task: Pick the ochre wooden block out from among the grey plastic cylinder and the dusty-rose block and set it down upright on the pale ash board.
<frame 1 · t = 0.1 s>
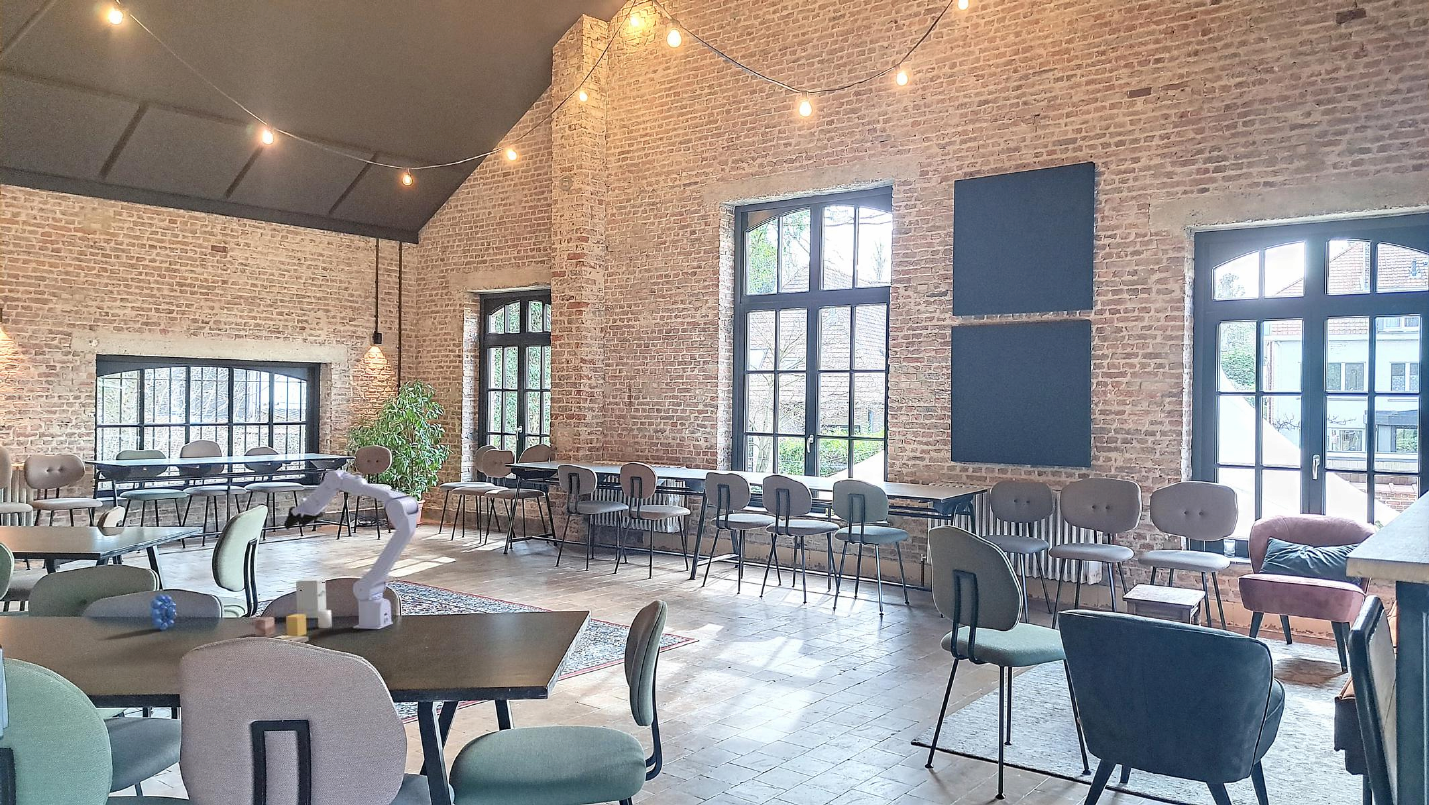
hand: (293, 525, 331), 32 cm above the table, tool tilted 50°, fingers open, 7 cm apart
grapes: (166, 630, 327), on the table
rose block: (264, 634, 318), on the table
ash board: (283, 644, 304), on the table
grey cylinder: (325, 626, 326), on the table
ochre block: (296, 634, 316), on the table
supplement box: (312, 616, 342), on the table
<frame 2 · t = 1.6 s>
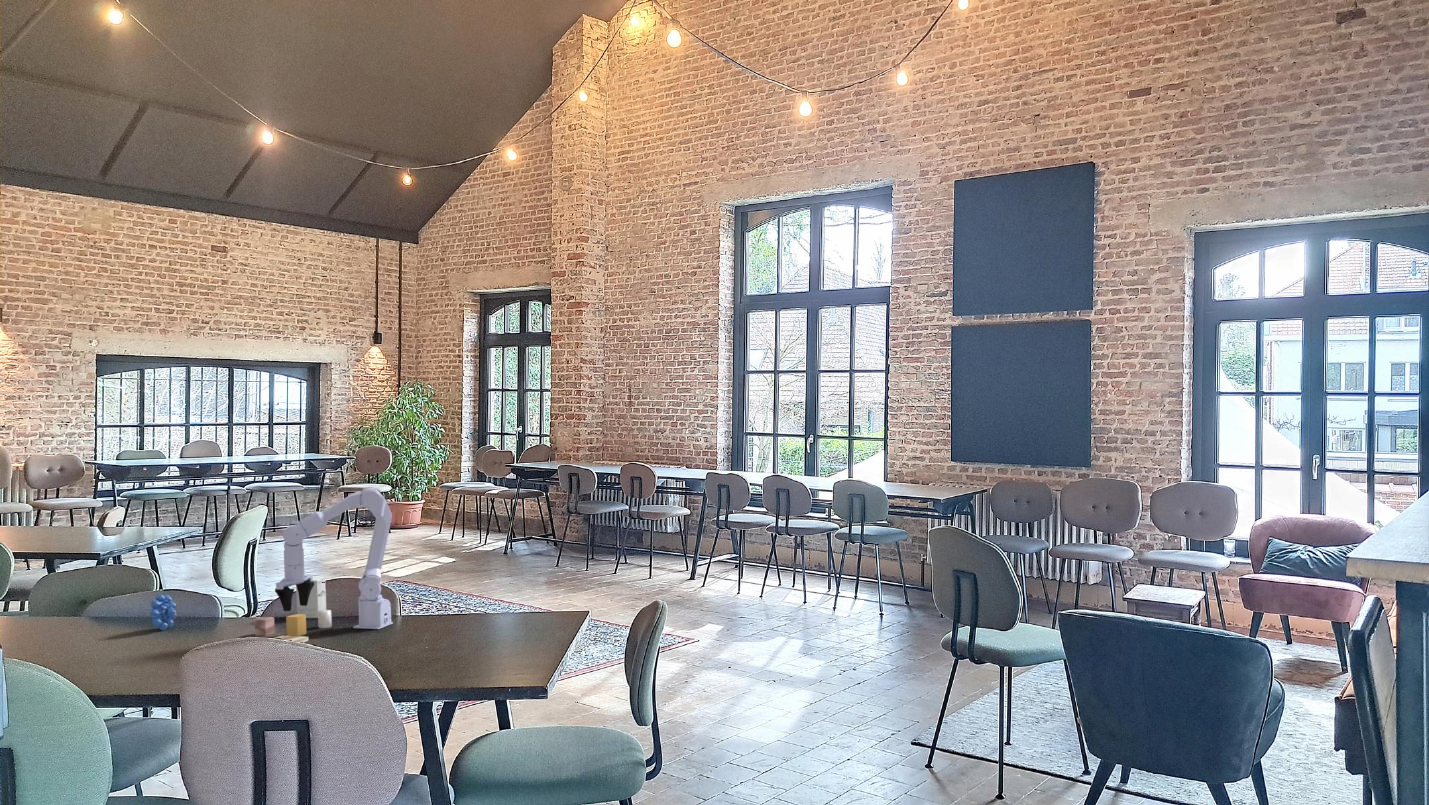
hand: (295, 608, 316), 8 cm above the table, tool pointing down, fingers open, 7 cm apart
nothing on the table moved.
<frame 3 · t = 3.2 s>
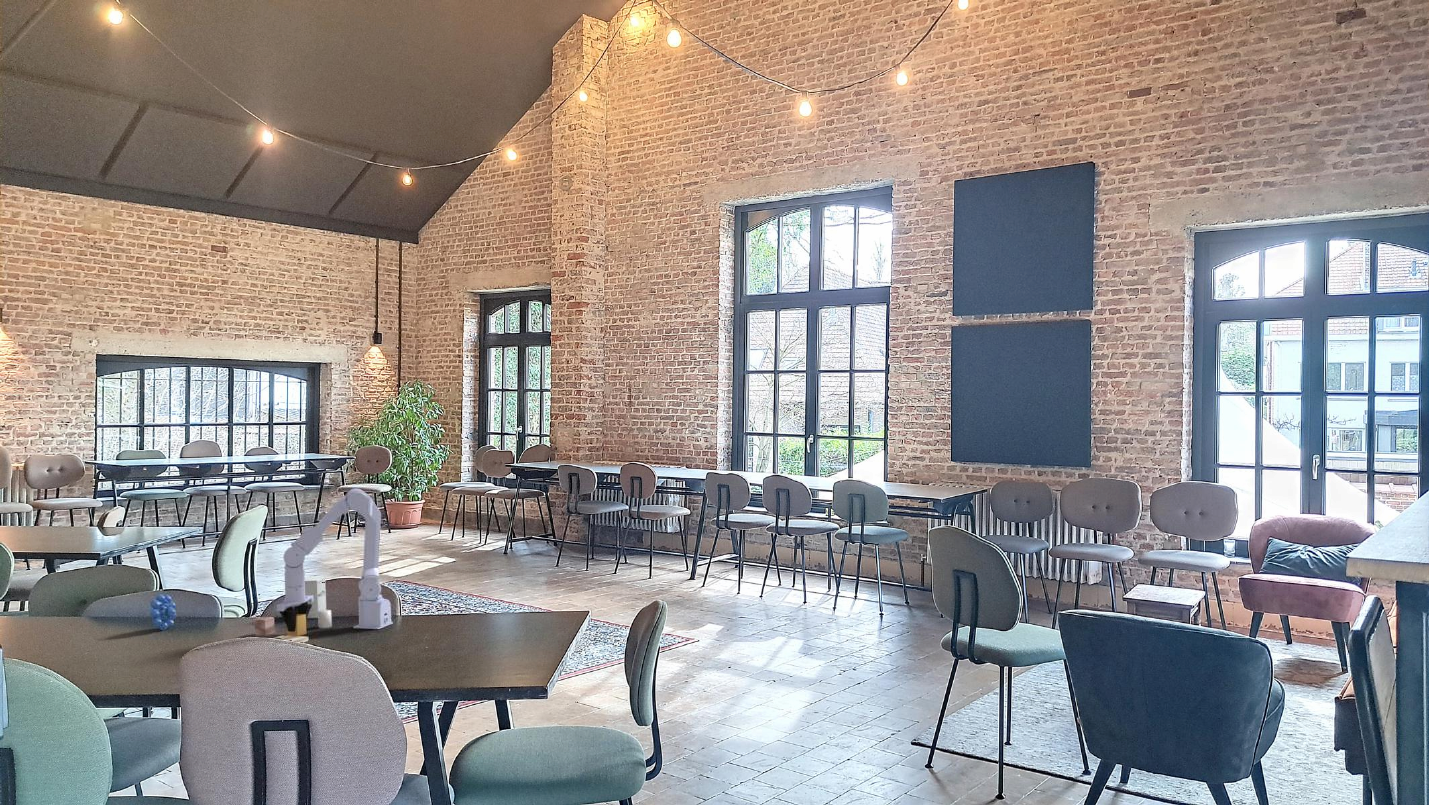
hand: (296, 629, 316), 2 cm above the table, tool pointing down, fingers closed on ochre block, 4 cm apart
ochre block: (296, 634, 316), on the table, touching gripper
everything else where it was.
when the fingers open (4 cm above the table, at t = 7.0 s): ochre block drops 1 cm, resting on ash board.
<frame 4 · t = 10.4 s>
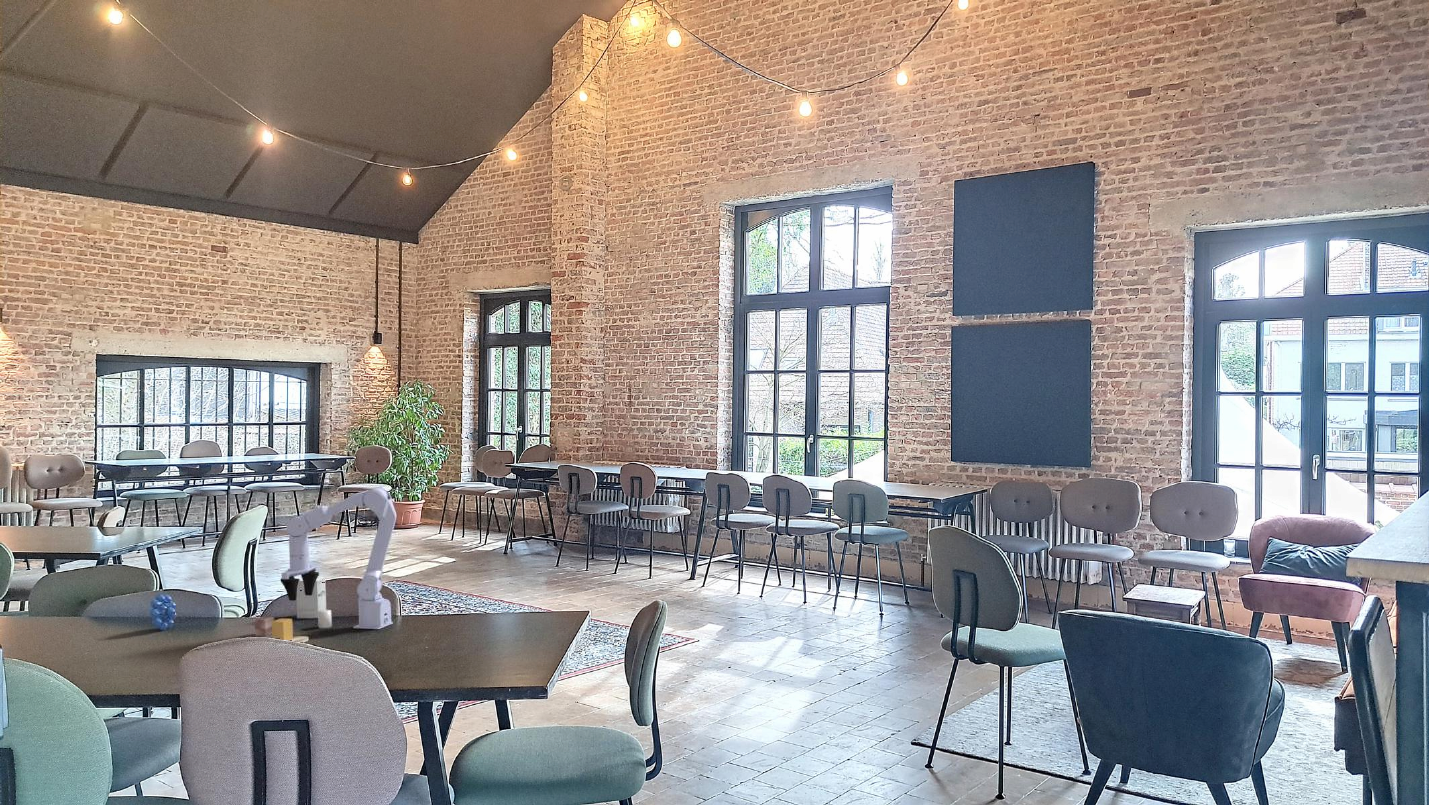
hand: (300, 597, 321), 10 cm above the table, tool pointing down, fingers open, 7 cm apart
ochre block: (282, 640, 304), point 1 cm above the table, touching ash board
everything else where it was.
at the end: ochre block 0.1 cm off-centre on the ash board, point 1.2 cm above the ash board's base; ochre block tilted 0°; the gripper is holding nothing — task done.
